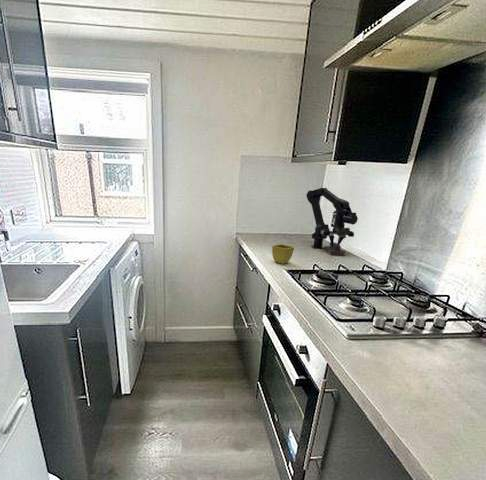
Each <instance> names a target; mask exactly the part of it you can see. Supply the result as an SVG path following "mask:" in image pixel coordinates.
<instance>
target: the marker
mask: <svg viewBox="0 0 486 480" xmlns="http://www.w3.org/2000/svg"><path fill="white" fill-rule="evenodd" d="M337 243H338V242H335V241H333V246H331V242H329V245H328V246H330V248H332V249H333V250H334V251H340V249H342V246H341V244H340V245H339V244H337Z"/></svg>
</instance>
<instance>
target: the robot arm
mask: <svg viewBox="0 0 486 480" xmlns="http://www.w3.org/2000/svg"><path fill="white" fill-rule="evenodd" d="M305 197H306V199H307V202H309V203H310V205H311V209H312V213H313V217H314V221H315V228H314V232H313V233H312V234H311V239H313V244H312V245H311V247H312V248H313V249H323V250H324V248H325V247H323V245H324V240H327V238H329V241H330V242H331V246H333V242H335V241H334V240H335V238H336V237H335V235H336V236H337V237H338V239H337V242H336V243H337V244H339V245H340V246H341V243H342V241H343V240H344V239H346V238H347V236H348V237H350V238H354V237H355V233H354V231H352V230H351V229H350V227H345V224H349V225H356V224H357V223H358V220H359V219H358V215H357V212H353V210H352V209H351V206H350V202H349V201H347V199H344V198H340V197H338V196H337V195H336V194H334V193H333V192H331V191H330V190H329V189H328V188H327V187H320V188H316V189H313V190H308V191H307V192H306V196H305ZM322 197H323V198H325V199H326V200H327V201H329V203H331V204H332V205H333V208H334V209H335V210H334V211H333V212H332V214H335V216H334V221H333V227H332V229H331V230H330V228H329V224H326V223H325V221H324V216H323V213H322V208H321V204H320V201H321V198H322ZM330 242H329V243H330Z"/></svg>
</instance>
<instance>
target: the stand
mask: <svg viewBox="0 0 486 480" xmlns="http://www.w3.org/2000/svg"><path fill="white" fill-rule="evenodd" d="M323 248H324V249H323V250H324V251H325V252H327V253H328V255H330V256H340V257H344V256H345V253H346V252H345V251H344V250H343V249H342V248H340V251H334V250H333V249H332V248H330V245H324V247H323Z"/></svg>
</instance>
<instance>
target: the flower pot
mask: <svg viewBox="0 0 486 480" xmlns="http://www.w3.org/2000/svg"><path fill="white" fill-rule="evenodd" d="M294 250H295V246H292V245H288V244H284V243H283V244H282V243H279V244H275V245H272V246H271V254H272V258H273V261H274V262H275V263H279V264H282V265H284V264H287V263H289V261H290V260H291V259H292V257H293V254H294Z"/></svg>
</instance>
